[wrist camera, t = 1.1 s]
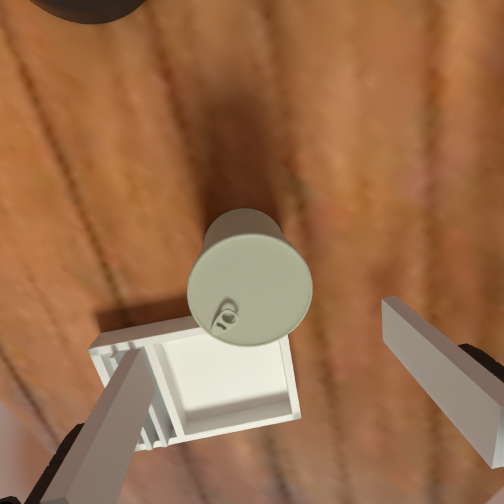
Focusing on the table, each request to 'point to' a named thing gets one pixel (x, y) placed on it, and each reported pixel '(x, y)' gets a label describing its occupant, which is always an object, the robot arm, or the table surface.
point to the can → (248, 281)
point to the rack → (202, 381)
